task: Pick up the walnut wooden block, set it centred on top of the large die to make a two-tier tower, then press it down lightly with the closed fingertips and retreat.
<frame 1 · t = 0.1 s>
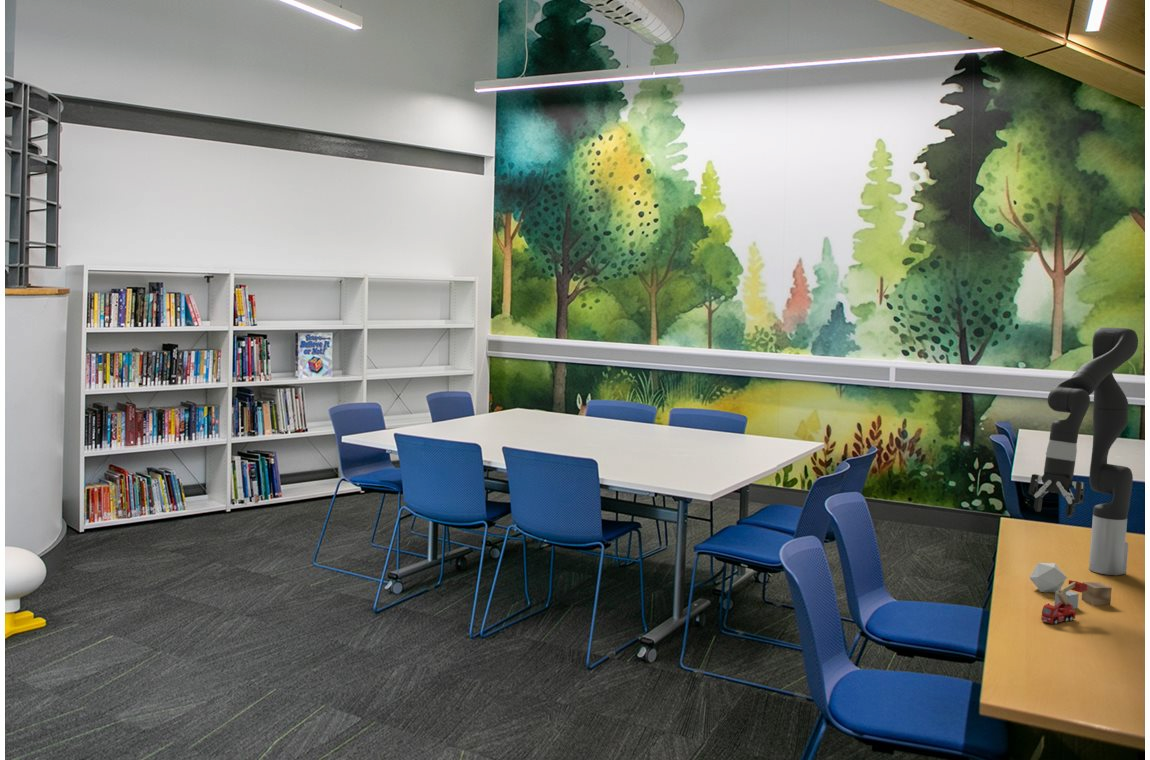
hand: (1052, 514, 267), 22 cm above the table, tool pointing down, fingers open, 8 cm apart
die: (1047, 591, 269), on the table
toy fire truck: (1062, 620, 244), on the table
walnut block: (1095, 602, 260), on the table
slate block: (1066, 607, 255), on the table
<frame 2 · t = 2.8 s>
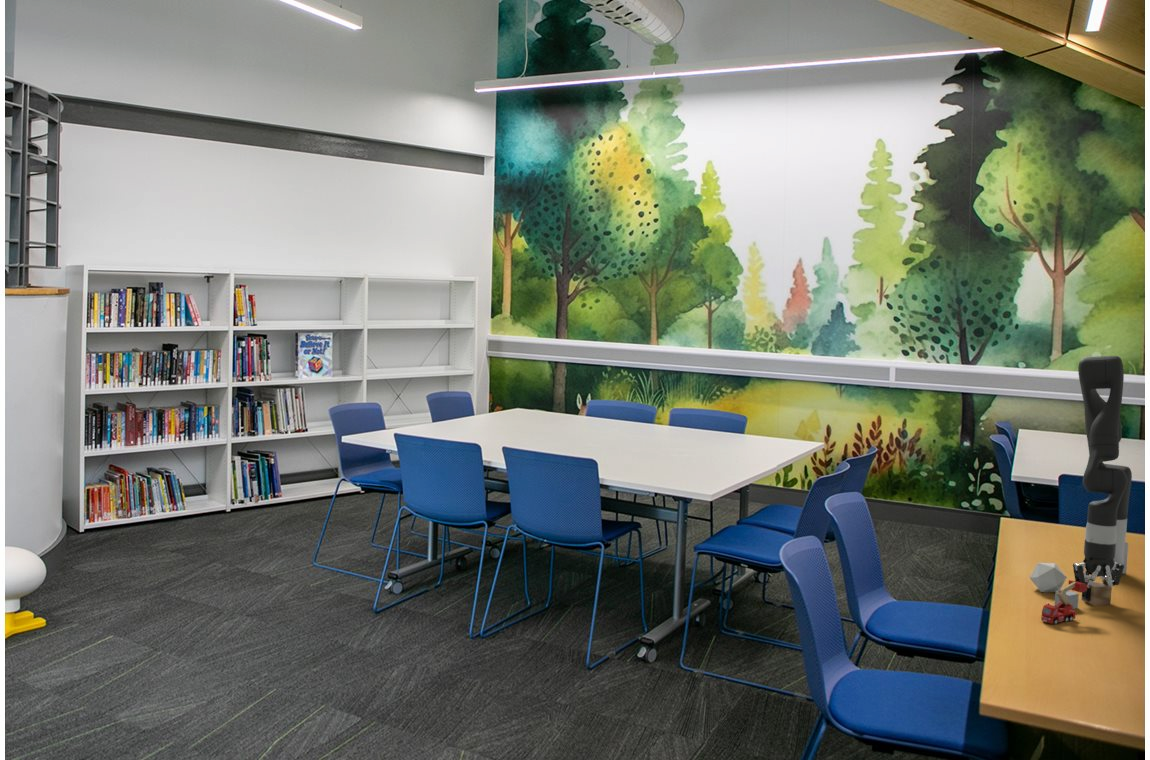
hand: (1095, 599, 260), 1 cm above the table, tool pointing down, fingers closed on walnut block, 5 cm apart
walnut block: (1095, 602, 260), on the table, touching gripper
everything else where it was.
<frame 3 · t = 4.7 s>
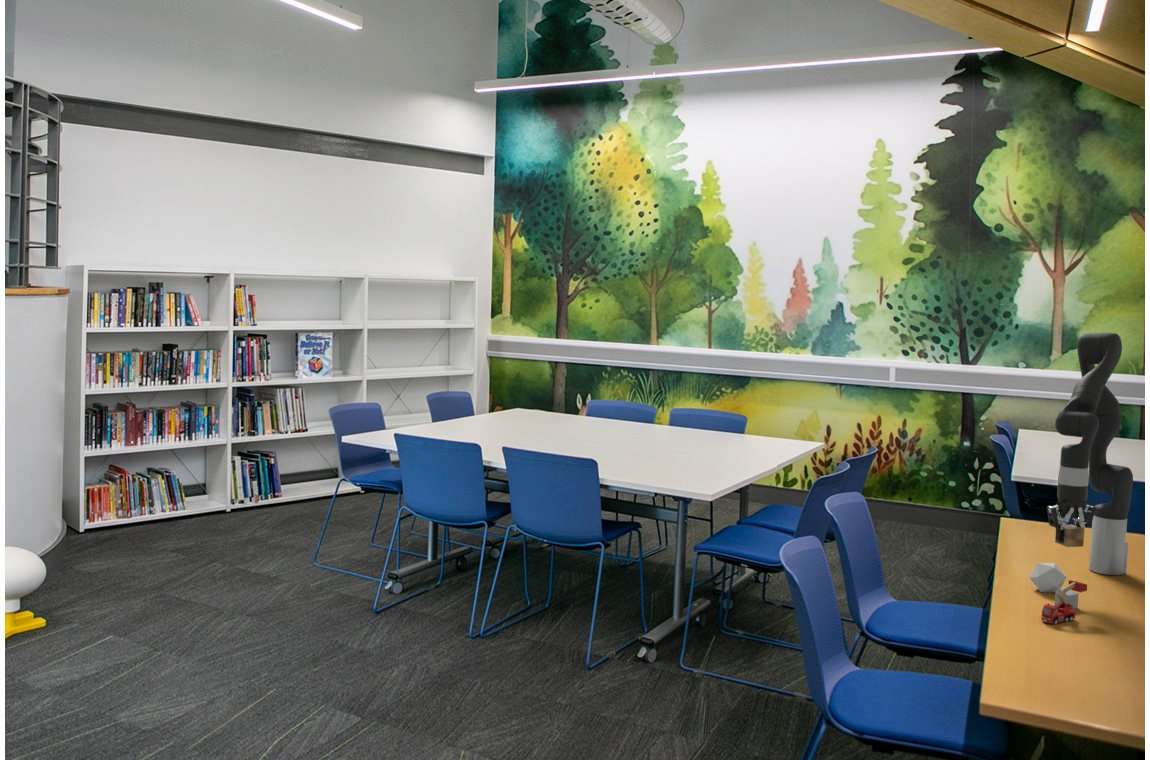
hand: (1068, 541, 265), 15 cm above the table, tool pointing down, fingers closed on walnut block, 5 cm apart
walnut block: (1069, 544, 265), point 14 cm above the table, touching gripper
everything else where it was.
when the fingers open (9 cm above the table, at t = 6.5 s): walnut block drops 1 cm, resting on die.
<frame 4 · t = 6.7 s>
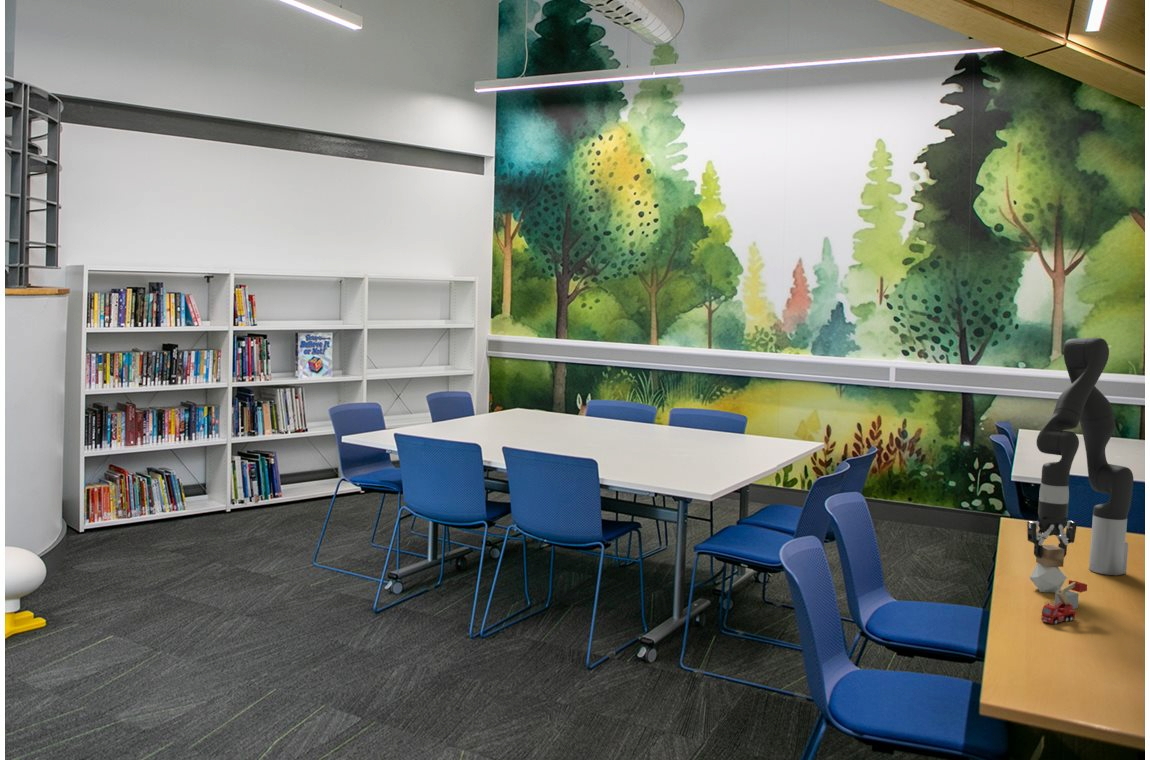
hand: (1049, 557, 269), 10 cm above the table, tool pointing down, fingers open, 6 cm apart
die: (1046, 591, 269), on the table, touching walnut block
walnut block: (1049, 564, 269), point 8 cm above the table, touching die
everything else where it was.
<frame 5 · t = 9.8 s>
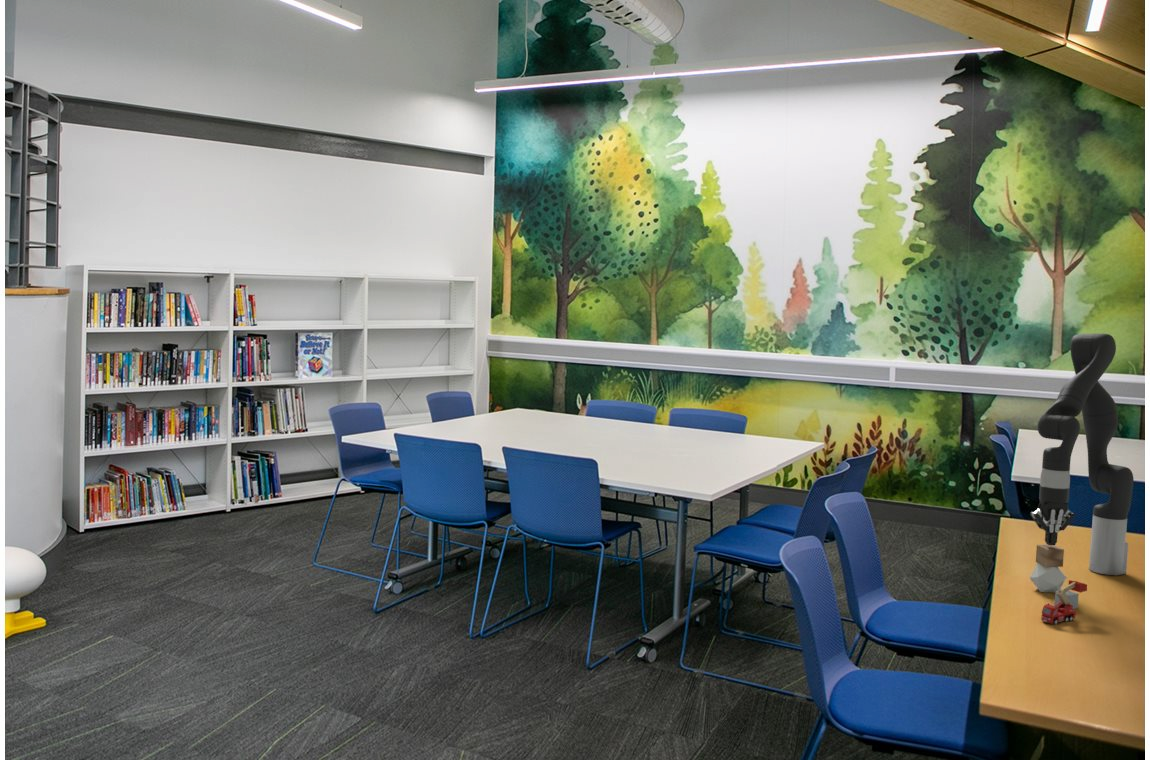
hand: (1050, 544, 268), 13 cm above the table, tool pointing down, fingers closed
nothing on the table moved.
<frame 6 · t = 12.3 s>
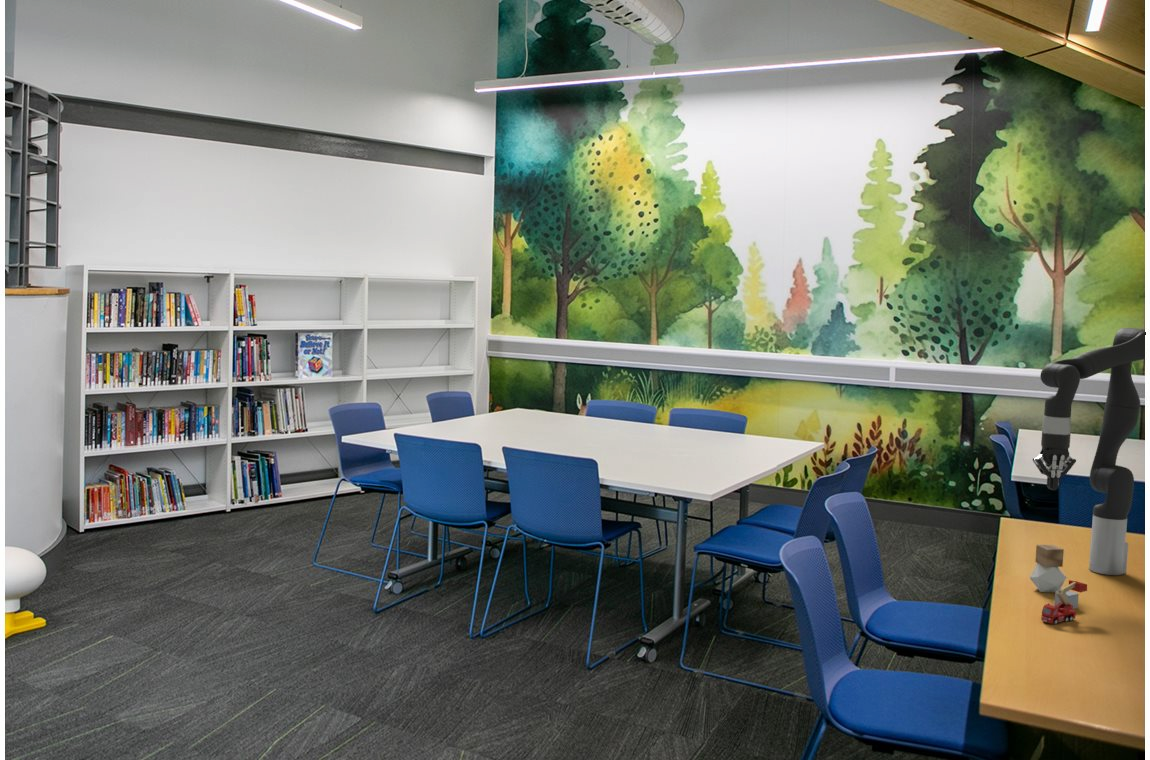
hand: (1052, 489, 279), 27 cm above the table, tool pointing down, fingers closed
nothing on the table moved.
at the end: walnut block 0.3 cm from the die (horizontally); walnut block point 7.6 cm above the table; walnut block touching die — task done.
